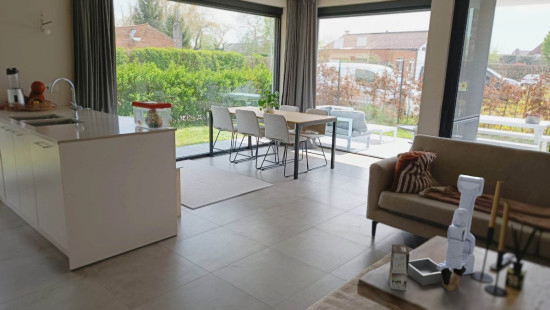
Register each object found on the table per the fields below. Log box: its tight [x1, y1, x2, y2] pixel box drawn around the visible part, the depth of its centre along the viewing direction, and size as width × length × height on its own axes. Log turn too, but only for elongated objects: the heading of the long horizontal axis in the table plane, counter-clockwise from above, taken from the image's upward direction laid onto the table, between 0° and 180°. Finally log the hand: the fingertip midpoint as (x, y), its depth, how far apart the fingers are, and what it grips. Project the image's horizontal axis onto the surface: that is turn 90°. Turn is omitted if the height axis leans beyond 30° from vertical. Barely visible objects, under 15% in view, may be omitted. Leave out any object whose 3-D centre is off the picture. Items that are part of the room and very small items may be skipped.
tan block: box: [441, 271, 461, 292], centre depth 165 cm, size 4×4×6 cm
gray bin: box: [407, 257, 443, 286], centre depth 174 cm, size 13×13×4 cm
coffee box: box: [388, 243, 411, 291], centre depth 166 cm, size 9×6×16 cm
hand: (450, 283), depth 165 cm, fingers closed on tan block, 4 cm apart
